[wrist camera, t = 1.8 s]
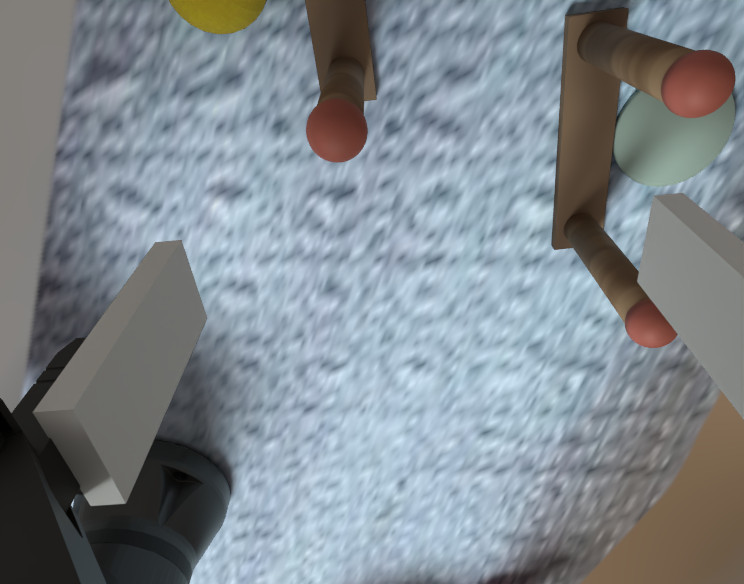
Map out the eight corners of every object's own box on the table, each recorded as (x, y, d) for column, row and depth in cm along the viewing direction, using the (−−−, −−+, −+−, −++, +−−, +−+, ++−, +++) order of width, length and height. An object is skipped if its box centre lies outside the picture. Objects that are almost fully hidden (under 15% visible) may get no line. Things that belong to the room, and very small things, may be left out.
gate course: (351, 267, 44) (345, 392, 32) (269, -219, 28) (194, -349, 16) (597, 239, 43) (691, 358, 30) (655, -285, 27) (899, -480, 15)
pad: (606, 189, 40) (609, 192, 40) (618, 77, 36) (622, 79, 36) (716, 176, 40) (720, 179, 39) (742, 61, 36) (747, 62, 35)
